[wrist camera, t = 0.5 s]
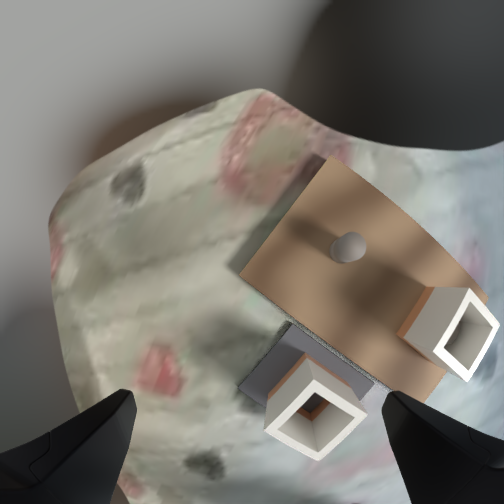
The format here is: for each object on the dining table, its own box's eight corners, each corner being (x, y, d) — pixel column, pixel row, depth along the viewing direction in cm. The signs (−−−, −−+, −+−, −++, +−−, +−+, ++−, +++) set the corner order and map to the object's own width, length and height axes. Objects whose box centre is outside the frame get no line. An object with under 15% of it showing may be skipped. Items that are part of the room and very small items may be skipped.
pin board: (481, 297, 19) (511, 298, 14) (414, 403, 19) (436, 424, 14) (328, 160, 22) (338, 134, 17) (240, 275, 21) (230, 274, 17)
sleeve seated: (456, 316, 18) (500, 324, 12) (428, 361, 18) (467, 382, 12) (426, 286, 19) (469, 287, 13) (395, 334, 19) (432, 351, 13)
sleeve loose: (347, 382, 19) (367, 414, 13) (310, 421, 19) (318, 461, 13) (305, 352, 20) (313, 379, 14) (268, 393, 20) (263, 430, 14)
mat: (373, 381, 19) (374, 383, 19) (319, 438, 19) (319, 440, 19) (292, 323, 21) (292, 324, 20) (238, 386, 21) (237, 388, 20)
